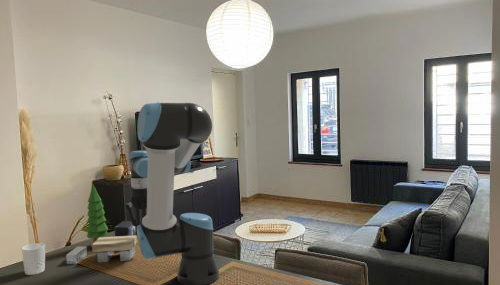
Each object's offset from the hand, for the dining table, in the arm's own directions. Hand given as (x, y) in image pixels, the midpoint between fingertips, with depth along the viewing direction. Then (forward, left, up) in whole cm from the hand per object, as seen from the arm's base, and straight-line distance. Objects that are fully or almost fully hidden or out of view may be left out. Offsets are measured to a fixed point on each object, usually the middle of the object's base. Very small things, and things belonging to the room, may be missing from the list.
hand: (142, 241), depth 162 cm
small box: (+14, +10, -6) cm, 18 cm away
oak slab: (0, +11, -2) cm, 12 cm away
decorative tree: (+16, +23, -6) cm, 29 cm away
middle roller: (0, +15, -6) cm, 17 cm away
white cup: (-11, +39, -6) cm, 42 cm away
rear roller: (0, +6, -6) cm, 9 cm away
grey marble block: (0, +27, -6) cm, 28 cm away
